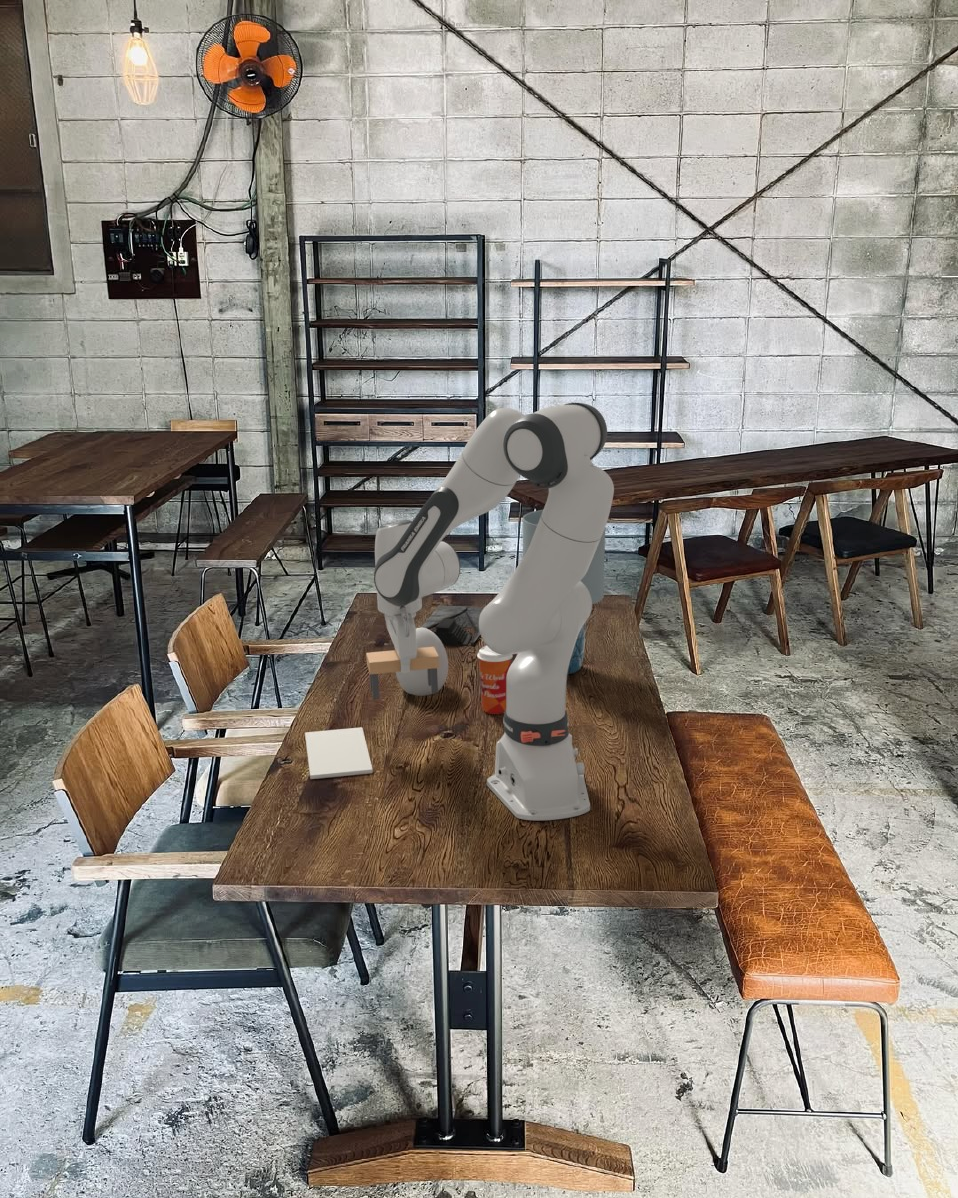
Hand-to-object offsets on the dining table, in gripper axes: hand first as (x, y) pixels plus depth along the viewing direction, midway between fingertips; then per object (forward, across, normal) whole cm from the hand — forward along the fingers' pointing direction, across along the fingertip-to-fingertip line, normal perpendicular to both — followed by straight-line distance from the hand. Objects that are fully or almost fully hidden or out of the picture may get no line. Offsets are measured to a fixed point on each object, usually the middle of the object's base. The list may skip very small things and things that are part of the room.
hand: (402, 665), depth 215 cm
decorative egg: (+16, +27, -8) cm, 32 cm away
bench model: (+6, 0, 0) cm, 6 cm away
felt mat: (+16, -3, +14) cm, 22 cm away
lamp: (+17, +32, -42) cm, 56 cm away
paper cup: (+17, +12, -22) cm, 30 cm away
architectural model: (+16, +69, -23) cm, 74 cm away
